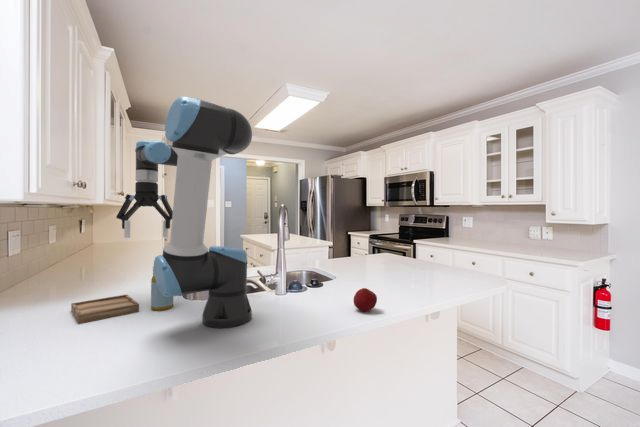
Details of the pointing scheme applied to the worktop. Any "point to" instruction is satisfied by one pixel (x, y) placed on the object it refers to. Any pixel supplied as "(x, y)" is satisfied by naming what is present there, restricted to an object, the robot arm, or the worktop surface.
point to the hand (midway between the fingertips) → (146, 237)
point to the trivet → (103, 308)
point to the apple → (365, 300)
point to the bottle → (159, 297)
